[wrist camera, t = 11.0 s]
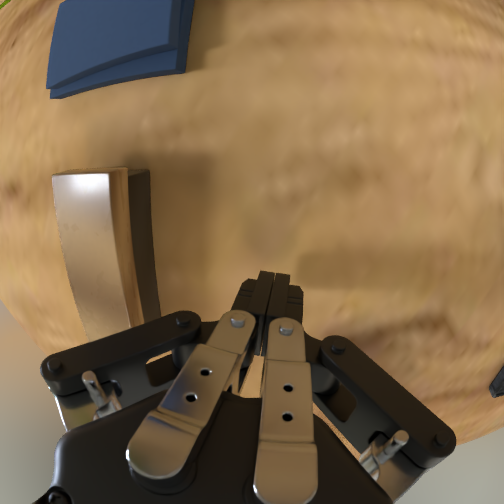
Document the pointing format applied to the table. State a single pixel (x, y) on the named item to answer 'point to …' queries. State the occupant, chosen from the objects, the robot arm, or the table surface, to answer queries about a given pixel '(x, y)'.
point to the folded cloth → (116, 43)
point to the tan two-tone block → (108, 247)
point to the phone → (498, 385)
